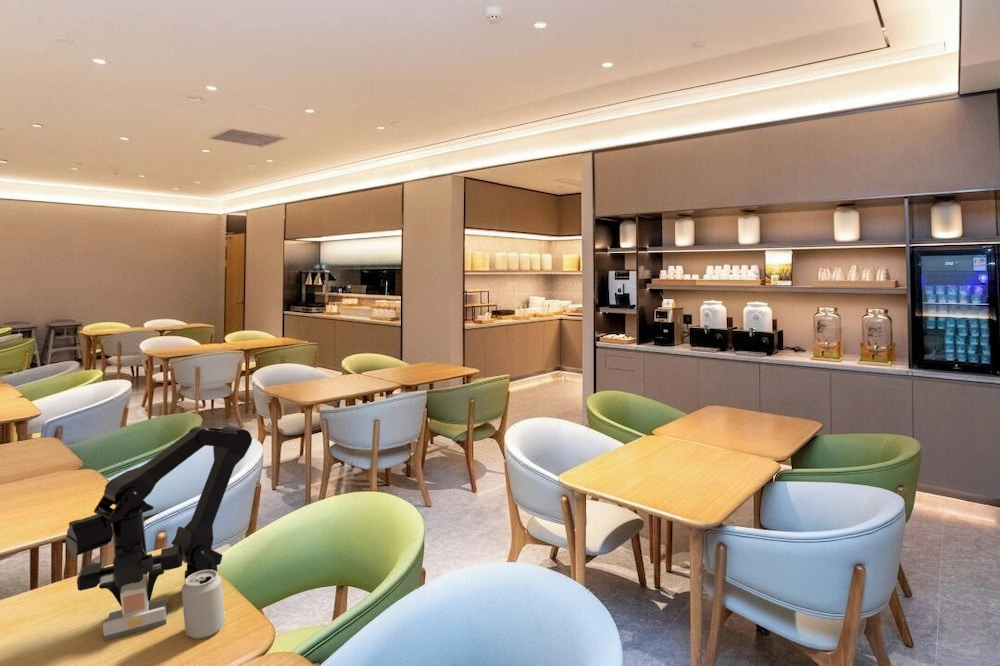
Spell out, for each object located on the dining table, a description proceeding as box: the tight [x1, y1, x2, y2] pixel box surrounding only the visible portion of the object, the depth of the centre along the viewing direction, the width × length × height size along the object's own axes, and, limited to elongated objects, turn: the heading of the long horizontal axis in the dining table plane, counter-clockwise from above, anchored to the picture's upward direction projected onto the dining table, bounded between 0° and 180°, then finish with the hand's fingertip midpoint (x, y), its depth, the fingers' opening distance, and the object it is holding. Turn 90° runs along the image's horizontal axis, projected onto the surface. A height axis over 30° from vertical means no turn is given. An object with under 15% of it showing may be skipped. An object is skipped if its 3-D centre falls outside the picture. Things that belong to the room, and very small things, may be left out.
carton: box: [120, 573, 151, 617], centre depth 123 cm, size 7×4×6 cm
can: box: [181, 570, 226, 640], centre depth 119 cm, size 8×8×12 cm
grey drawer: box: [102, 598, 168, 642], centre depth 123 cm, size 11×9×4 cm
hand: (136, 603), depth 123 cm, fingers closed on carton, 4 cm apart
